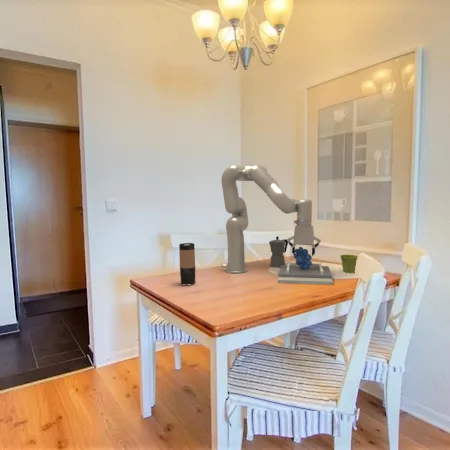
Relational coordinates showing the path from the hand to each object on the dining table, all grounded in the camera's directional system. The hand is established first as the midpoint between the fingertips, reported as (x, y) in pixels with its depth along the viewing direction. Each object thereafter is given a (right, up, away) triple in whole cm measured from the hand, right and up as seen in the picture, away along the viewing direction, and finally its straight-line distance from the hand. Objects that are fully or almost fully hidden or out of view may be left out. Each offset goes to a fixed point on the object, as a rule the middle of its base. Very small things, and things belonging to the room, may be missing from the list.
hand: (303, 255), depth 180 cm
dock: (0, -11, -1) cm, 11 cm away
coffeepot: (-9, -9, +27) cm, 30 cm away
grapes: (0, -8, +2) cm, 8 cm away
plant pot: (+27, -10, +7) cm, 30 cm away
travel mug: (-60, -14, -10) cm, 62 cm away
